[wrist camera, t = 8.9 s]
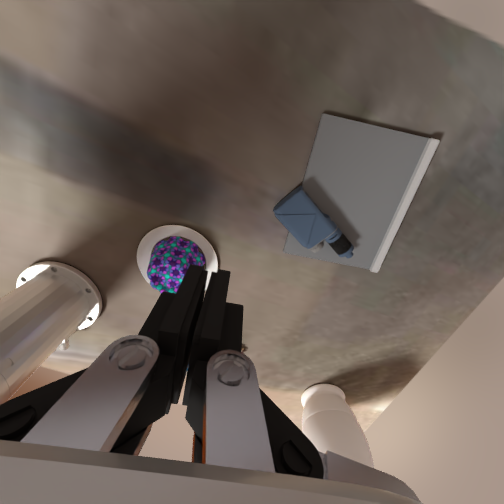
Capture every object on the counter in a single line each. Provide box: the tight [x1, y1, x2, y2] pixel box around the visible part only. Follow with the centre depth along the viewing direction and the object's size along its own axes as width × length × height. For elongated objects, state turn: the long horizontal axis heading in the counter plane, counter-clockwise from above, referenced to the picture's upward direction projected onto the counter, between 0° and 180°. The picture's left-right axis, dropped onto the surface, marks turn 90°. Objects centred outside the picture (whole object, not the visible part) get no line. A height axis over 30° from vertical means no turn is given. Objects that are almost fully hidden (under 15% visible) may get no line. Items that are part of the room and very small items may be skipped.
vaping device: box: [273, 186, 354, 258], centre depth 34 cm, size 3×5×12 cm
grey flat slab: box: [283, 113, 440, 273], centre depth 34 cm, size 18×14×1 cm
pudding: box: [137, 225, 218, 294], centre depth 37 cm, size 12×12×5 cm
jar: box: [301, 384, 374, 468], centre depth 44 cm, size 11×10×15 cm
